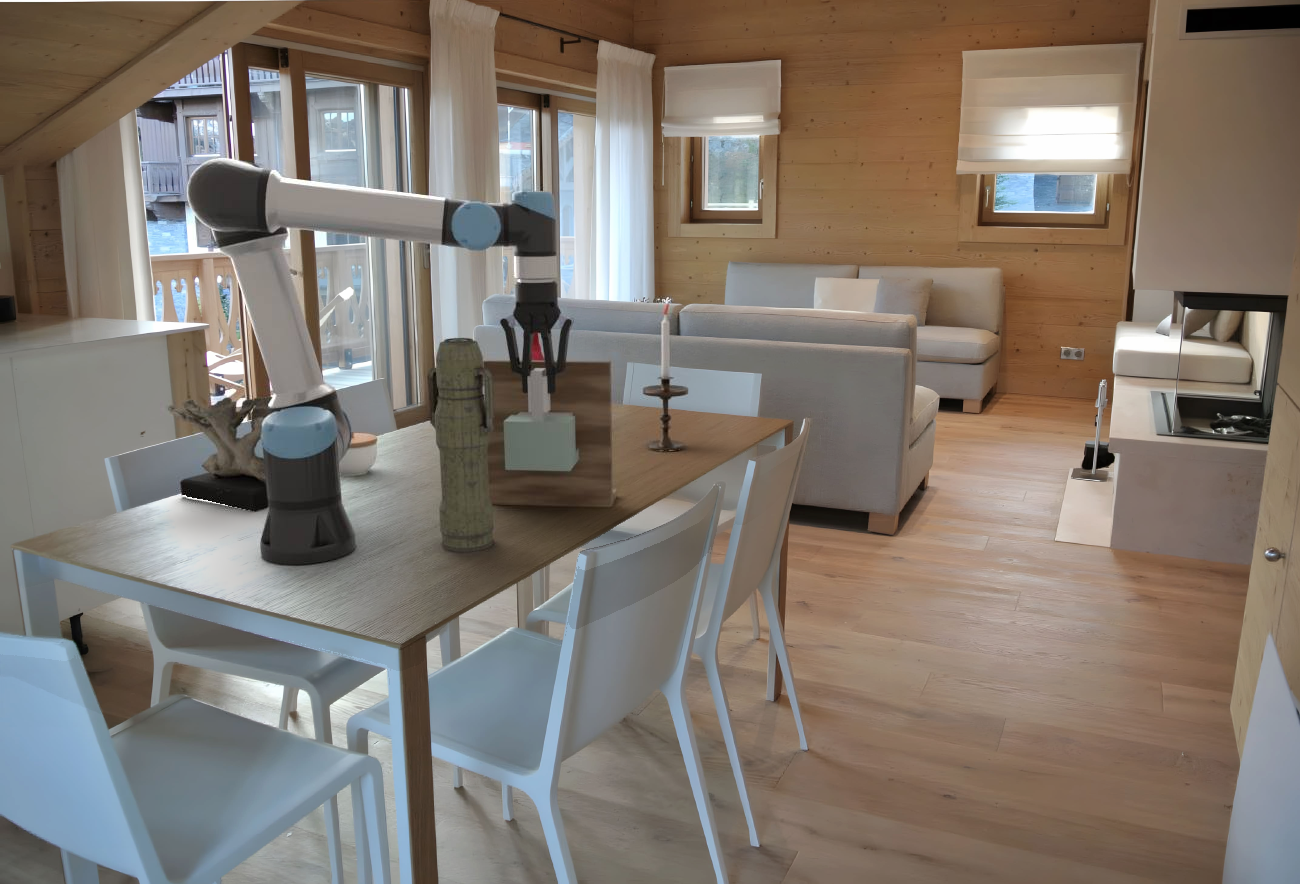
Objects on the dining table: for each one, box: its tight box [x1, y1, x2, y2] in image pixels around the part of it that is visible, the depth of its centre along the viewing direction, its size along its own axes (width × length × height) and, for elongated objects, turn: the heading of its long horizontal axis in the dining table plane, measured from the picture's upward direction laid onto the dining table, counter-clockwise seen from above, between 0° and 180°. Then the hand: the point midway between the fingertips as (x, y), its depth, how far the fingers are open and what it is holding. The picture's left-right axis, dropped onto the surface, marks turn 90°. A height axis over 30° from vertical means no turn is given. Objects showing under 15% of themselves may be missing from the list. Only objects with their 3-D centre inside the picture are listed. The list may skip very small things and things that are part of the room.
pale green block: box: [504, 368, 579, 471], centre depth 186 cm, size 9×12×18 cm
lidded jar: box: [339, 430, 378, 477], centre depth 220 cm, size 11×11×9 cm
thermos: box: [426, 337, 495, 553], centre depth 169 cm, size 9×12×35 cm
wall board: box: [483, 359, 618, 508], centre depth 194 cm, size 11×24×28 cm, turn 84°
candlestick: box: [642, 301, 689, 451], centre depth 240 cm, size 11×11×35 cm
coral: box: [166, 396, 273, 513], centre depth 197 cm, size 25×20×22 cm
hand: (539, 410), depth 184 cm, fingers closed on pale green block, 2 cm apart
